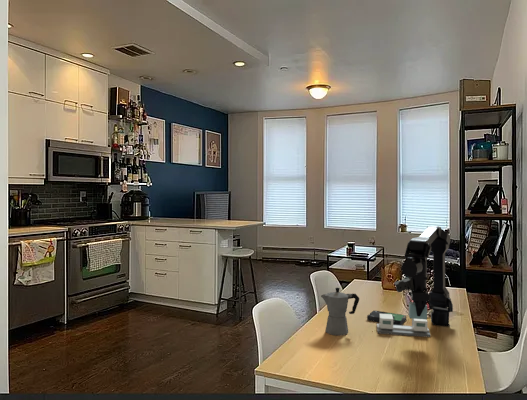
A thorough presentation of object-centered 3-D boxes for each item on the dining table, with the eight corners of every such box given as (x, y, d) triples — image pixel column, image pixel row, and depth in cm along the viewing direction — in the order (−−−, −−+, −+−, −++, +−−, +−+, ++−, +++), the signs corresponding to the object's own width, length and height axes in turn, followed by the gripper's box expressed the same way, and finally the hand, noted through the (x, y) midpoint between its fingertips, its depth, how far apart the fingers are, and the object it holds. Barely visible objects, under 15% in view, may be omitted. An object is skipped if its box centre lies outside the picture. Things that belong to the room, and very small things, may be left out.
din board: (426, 329, 182) (426, 315, 182) (430, 337, 172) (430, 322, 172) (376, 325, 186) (376, 312, 186) (377, 333, 176) (378, 319, 176)
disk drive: (366, 322, 193) (401, 327, 186) (366, 315, 193) (401, 320, 186) (373, 316, 202) (406, 320, 195) (373, 310, 202) (406, 314, 195)
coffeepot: (322, 335, 172) (322, 290, 172) (319, 328, 182) (319, 284, 181) (361, 336, 173) (362, 290, 172) (356, 328, 182) (356, 285, 181)
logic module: (425, 316, 167) (425, 302, 167) (427, 319, 162) (427, 306, 162) (408, 314, 168) (408, 301, 168) (409, 318, 163) (410, 304, 163)
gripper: (394, 267, 175) (393, 306, 176) (398, 276, 157) (397, 320, 158) (423, 269, 173) (422, 308, 174) (431, 278, 155) (430, 322, 155)
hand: (417, 314), depth 165 cm, fingers closed on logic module, 5 cm apart
